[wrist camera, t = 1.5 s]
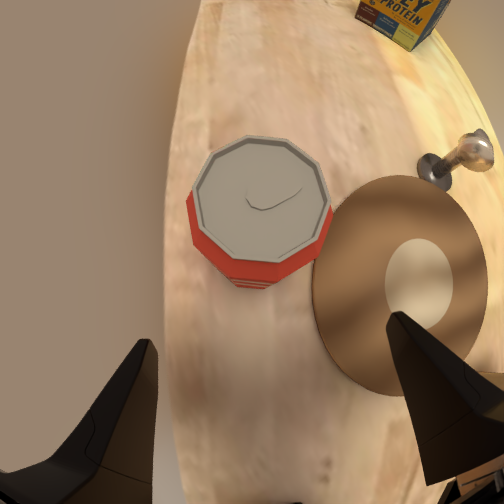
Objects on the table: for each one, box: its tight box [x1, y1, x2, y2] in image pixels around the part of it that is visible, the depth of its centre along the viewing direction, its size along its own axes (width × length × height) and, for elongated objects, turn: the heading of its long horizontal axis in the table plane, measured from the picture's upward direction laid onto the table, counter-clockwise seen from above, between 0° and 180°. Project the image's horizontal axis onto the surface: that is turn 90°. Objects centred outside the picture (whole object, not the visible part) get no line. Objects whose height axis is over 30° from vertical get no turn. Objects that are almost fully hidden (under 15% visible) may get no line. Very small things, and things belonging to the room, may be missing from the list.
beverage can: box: [186, 135, 333, 289], centre depth 16 cm, size 6×6×12 cm
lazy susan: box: [312, 175, 488, 396], centre depth 21 cm, size 20×20×1 cm
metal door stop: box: [417, 129, 494, 192], centre depth 19 cm, size 4×4×9 cm
